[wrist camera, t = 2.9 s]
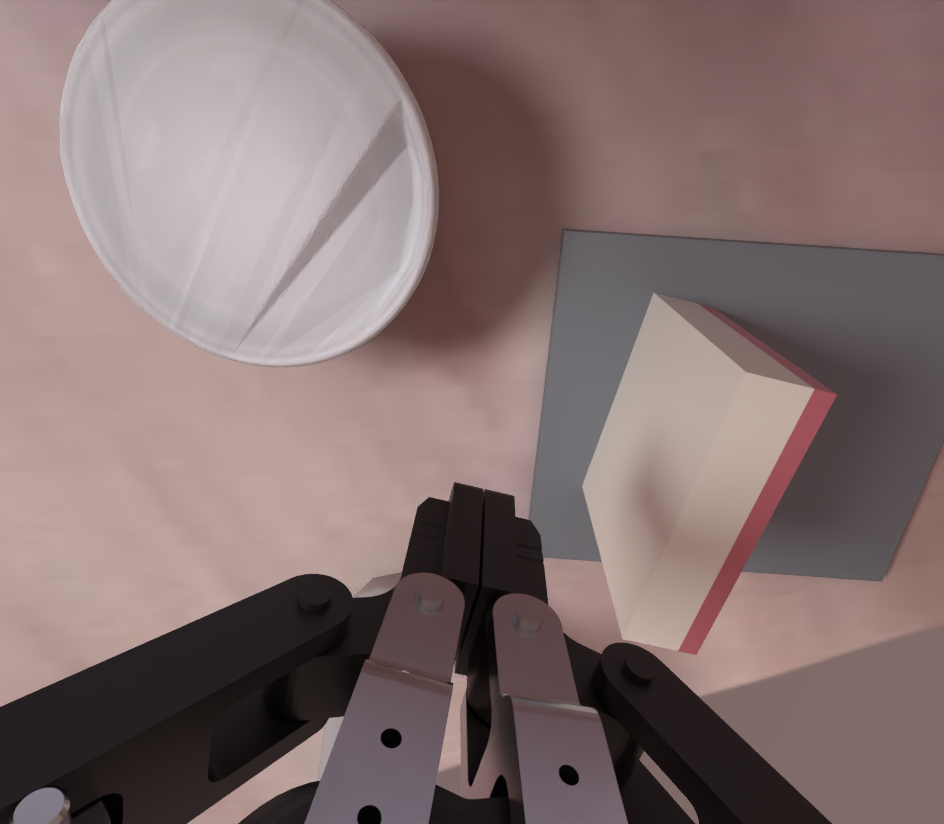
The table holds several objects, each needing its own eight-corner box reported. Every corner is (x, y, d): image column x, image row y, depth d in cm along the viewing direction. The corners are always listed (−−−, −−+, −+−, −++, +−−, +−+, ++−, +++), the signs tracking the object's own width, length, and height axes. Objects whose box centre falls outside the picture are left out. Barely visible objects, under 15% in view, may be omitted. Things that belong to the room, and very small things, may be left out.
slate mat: (563, 228, 22) (564, 230, 22) (1009, 258, 22) (1022, 261, 21) (525, 548, 28) (525, 556, 28) (874, 573, 28) (882, 581, 28)
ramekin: (433, 344, 24) (417, 391, 20) (166, 307, 24) (84, 345, 19) (467, 33, 20) (459, -6, 15) (140, -17, 20) (24, -74, 15)
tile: (582, 486, 26) (622, 638, 18) (653, 292, 22) (746, 372, 14) (632, 497, 26) (696, 654, 18) (712, 307, 23) (837, 394, 14)
